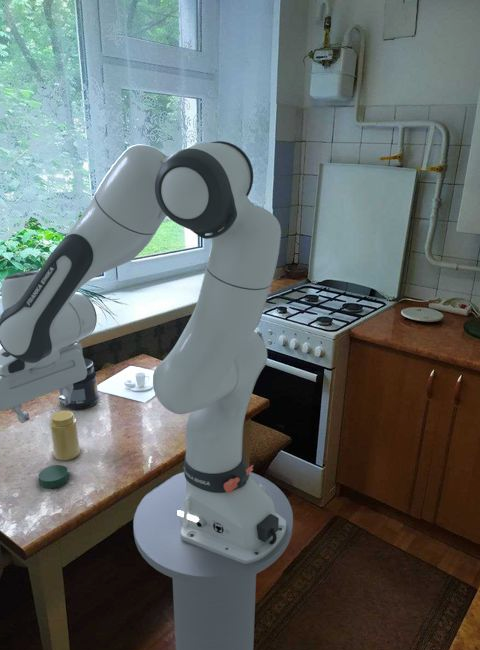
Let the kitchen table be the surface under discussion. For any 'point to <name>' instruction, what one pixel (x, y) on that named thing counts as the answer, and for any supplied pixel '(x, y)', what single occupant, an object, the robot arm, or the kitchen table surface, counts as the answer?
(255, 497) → the robot arm
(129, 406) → the kitchen table surface
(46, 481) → the jar lid
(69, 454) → the jam jar
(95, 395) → the supplement container
